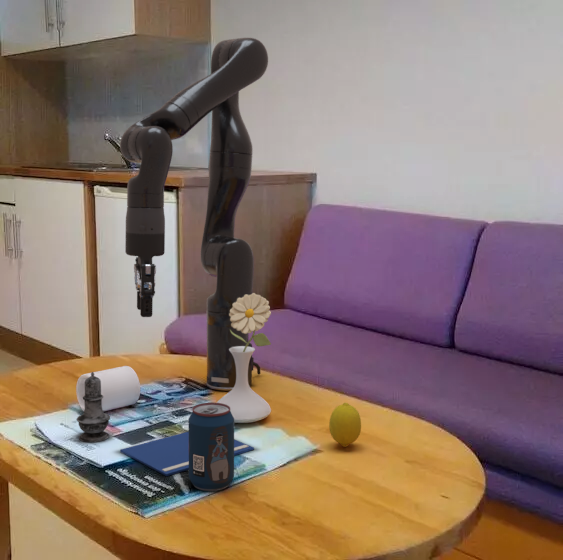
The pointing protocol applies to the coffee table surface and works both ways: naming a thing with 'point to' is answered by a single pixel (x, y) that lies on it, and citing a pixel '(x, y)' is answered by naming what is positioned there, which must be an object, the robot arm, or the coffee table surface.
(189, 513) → the coffee table surface
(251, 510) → the coffee table surface
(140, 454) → the blue notebook
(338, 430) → the lemon
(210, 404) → the soda can
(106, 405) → the mug
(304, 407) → the coffee table surface
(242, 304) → the flower in vase
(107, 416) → the dark grey turned piece
